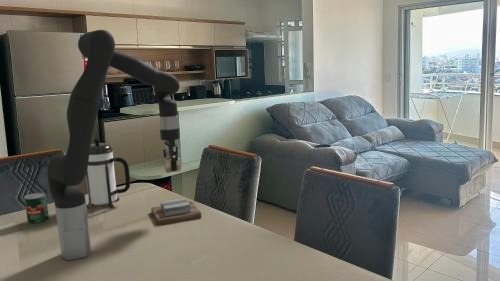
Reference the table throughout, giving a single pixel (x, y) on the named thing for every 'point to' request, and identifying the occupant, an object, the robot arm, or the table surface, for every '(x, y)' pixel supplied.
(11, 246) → the table surface
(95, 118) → the robot arm
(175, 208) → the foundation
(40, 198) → the canned tomato
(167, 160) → the maple block
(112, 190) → the coffee press
